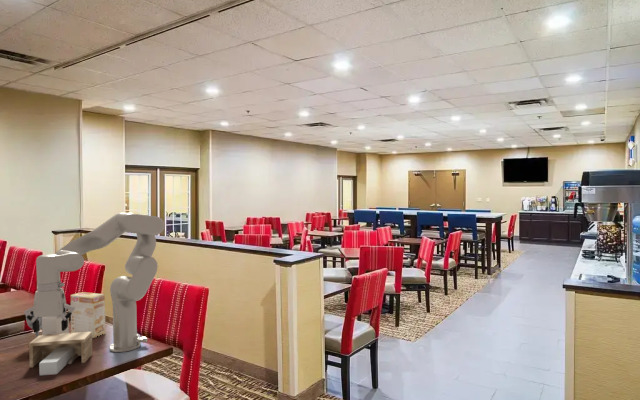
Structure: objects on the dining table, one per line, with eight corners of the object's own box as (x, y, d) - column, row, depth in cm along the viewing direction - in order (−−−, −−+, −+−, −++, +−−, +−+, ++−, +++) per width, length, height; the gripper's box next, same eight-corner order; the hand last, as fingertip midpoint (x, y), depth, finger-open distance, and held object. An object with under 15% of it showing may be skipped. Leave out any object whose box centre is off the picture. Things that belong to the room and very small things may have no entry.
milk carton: (56, 353, 178) (55, 310, 177) (42, 352, 179) (41, 309, 179) (69, 347, 185) (68, 305, 184) (55, 346, 186) (54, 304, 186)
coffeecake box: (106, 333, 202) (105, 293, 202) (93, 338, 196) (92, 297, 195) (83, 329, 208) (82, 291, 207) (70, 334, 201) (69, 294, 201)
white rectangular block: (73, 357, 175) (73, 346, 174) (56, 374, 159) (56, 361, 159) (58, 358, 174) (57, 347, 173) (39, 376, 158) (39, 363, 158)
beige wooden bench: (92, 353, 178) (91, 331, 177) (84, 362, 169) (84, 339, 168) (40, 358, 174) (39, 335, 173) (29, 367, 165) (29, 343, 164)
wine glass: (44, 346, 186) (43, 313, 186) (24, 348, 184) (23, 315, 183) (50, 340, 194) (49, 308, 193) (30, 342, 191) (29, 310, 191)
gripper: (77, 283, 165) (78, 325, 166) (28, 285, 162) (30, 329, 162) (69, 287, 158) (71, 332, 159) (18, 290, 154) (20, 336, 155)
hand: (50, 330), depth 160 cm, fingers open, 9 cm apart
